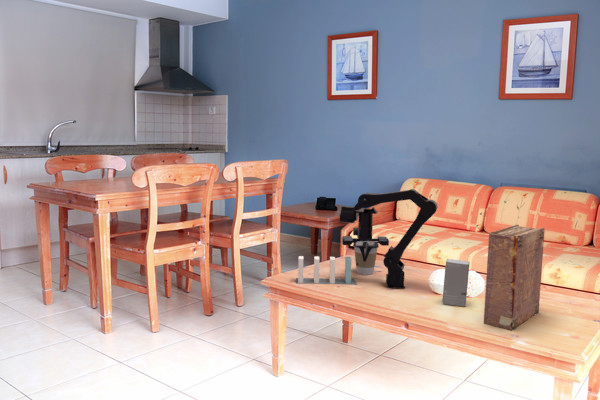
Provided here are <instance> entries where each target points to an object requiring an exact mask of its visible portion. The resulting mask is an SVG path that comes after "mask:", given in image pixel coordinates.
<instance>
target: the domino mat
mask: <svg viewBox="0 0 600 400" xmlns="http://www.w3.org/2000/svg"><path fill="white" fill-rule="evenodd" d="M295 284H299V285H300V284H303V285H305V284H306V285H307V284H308V285H349V286H350V285H354V286H357V285H358V283H357V281H356V278H351V284H346V283H345V278H335V284H334V283H330V281H329V278H321V277H319V283H314V277H313V278H312V277H309V278H308V277H303V283H298V277H296V278H295Z"/></svg>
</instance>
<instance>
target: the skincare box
mask: <svg viewBox="0 0 600 400" xmlns="http://www.w3.org/2000/svg"><path fill="white" fill-rule="evenodd" d="M470 263H471V262H470V261H468V260H461V259H453V258H452V259H451V258H447V259H446V261H445V268H444V277H443V278H444V279H443V289H442V298H441V299H442V301H441V302H442V305H448V306H455V307H456V306H457V307H463V308H465V307H466V305H467V304H466V303H467V295H468V283H469V272H470Z"/></svg>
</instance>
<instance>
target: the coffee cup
mask: <svg viewBox="0 0 600 400" xmlns="http://www.w3.org/2000/svg"><path fill="white" fill-rule="evenodd" d="M363 245H364V253H365V250H366V243H363ZM379 245H380V244H379V243H374V246H375V247H373V248H372V249H371V251H370V252H369V255H368V257H367V260H366V262H364V261H363V258H362V254H361V251H360V249H359V247H356V243H352V247H354V259H355V269H356V273H357V274H359V275H362V276H368V275H373V274H374V272H375V266H376V260H377V255H378V254H377V253H378V248H379Z"/></svg>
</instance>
